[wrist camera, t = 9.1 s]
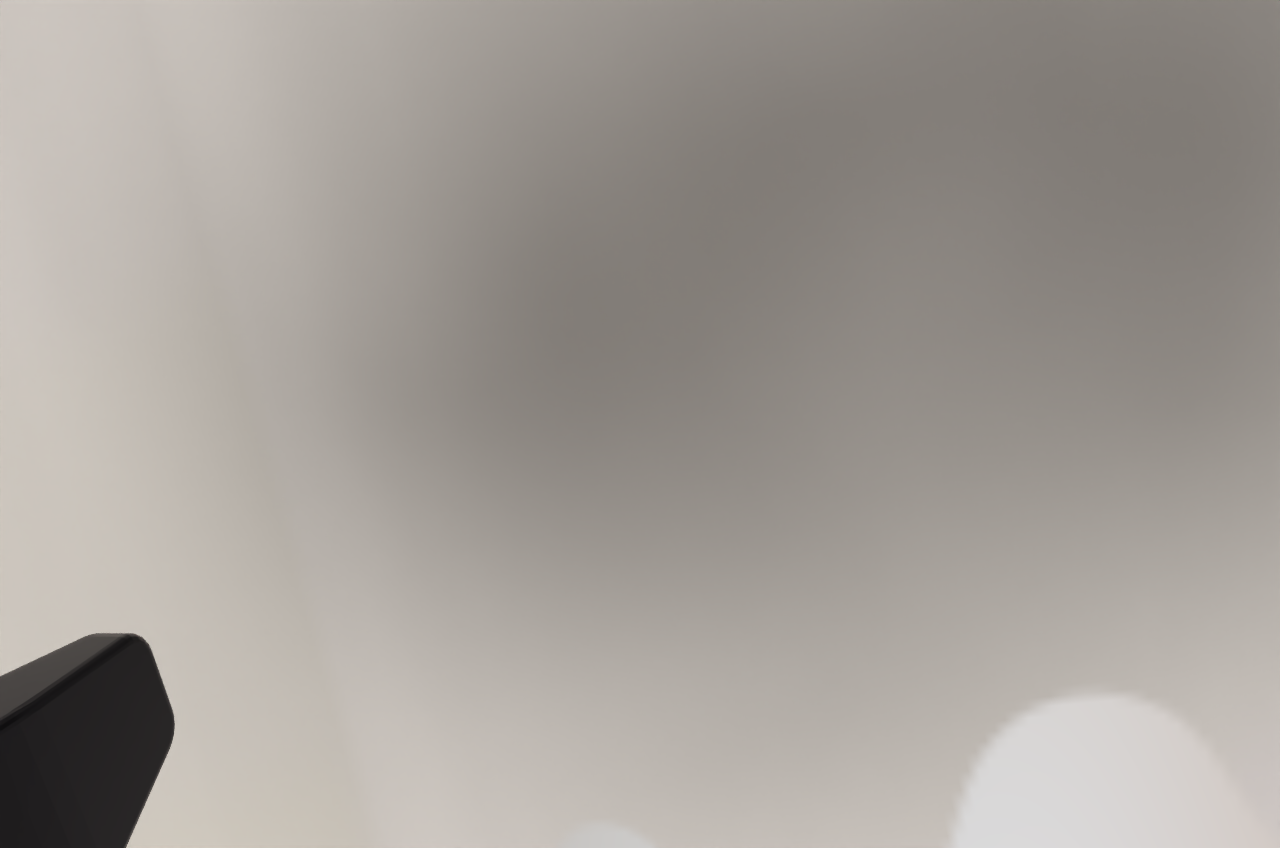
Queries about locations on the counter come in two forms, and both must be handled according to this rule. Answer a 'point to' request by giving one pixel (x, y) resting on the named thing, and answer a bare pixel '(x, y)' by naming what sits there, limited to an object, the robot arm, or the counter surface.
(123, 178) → the counter surface
